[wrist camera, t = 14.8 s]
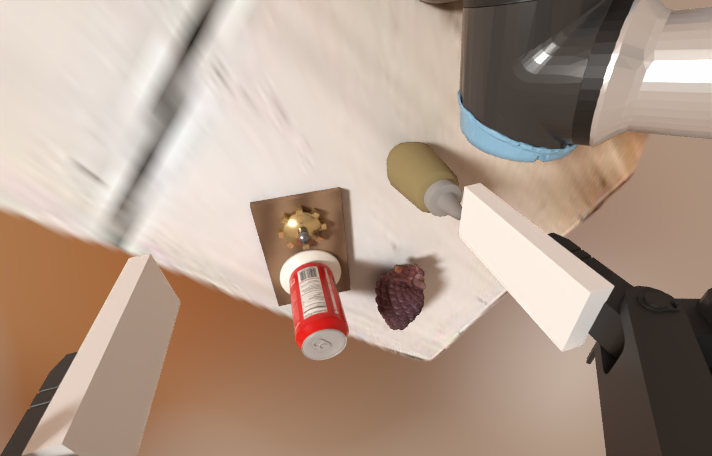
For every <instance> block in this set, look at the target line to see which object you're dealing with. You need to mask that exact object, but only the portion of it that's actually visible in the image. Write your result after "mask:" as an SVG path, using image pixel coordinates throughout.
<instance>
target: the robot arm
mask: <svg viewBox="0 0 712 456" xmlns="http://www.w3.org/2000/svg"><path fill="white" fill-rule="evenodd" d="M420 1H423V2H426V3H432V4H440V3H450V2H454V1H457V0H420ZM458 102H459V105H460V127H461V130H462V133H463V134H464V135H465V136H466V138H467V140H468V141H469V142H470V143H471V144H472V145H473V146H475V147H476V148H478V149H479V150H481V151H483V152H485V153H487V154H490V155H493V156H495V157H499V158H502V159H507V160H511V161H518V162H534V161H535V160H536V159H537V160H540V161H543V162H547V161H553V160H557V159H560V158H562V157H565V156H567V155H568V154H570V153H571V152H572V151H573V149H574V148H576V147H577V146H578V145H586V146H598V145H599V144H601V143H603V142H605V141H607V140H608V139H610V138H612V137H614V136H615V135H617V134H620V133H623V132H627V131H629V132H640V133H651V134H662V135H673V136H684V137H695V138H706V139H712V7H706V8H695V9H684V10H672V9H668V8H666V7H665V6H664V5H663V4H662V3H661V1H660V0H464V1H463V19H462V43H461V68H460V89H459V91H458ZM459 237H460V238H461V239H462V240H463V241H464V242H465V243H466V245H467V246H468V247H469V248H470V249H471V250H472V251H473V252H474V254H475V255H476V256H477V257H478V258H479V259H480V260H481V261H482V263H483V264H484V265H485V266H486V267H487V268H488V269H489V270H490V272H491V273H492V274H493V275H494V276H495V277H496V278H497V279H498V280H499V282H500V283H501V284H502V285H503V286H504V287H505V288H506V289H507V291H508V292H509V293H510V294H511V295H512V296H513V297H514V298H515V300H516V301H517V302H518V303H519V304H520V305H521V306H522V307H523V309H524V310H525V311H526V312H527V313H528V314H529V315H530V316H531V318H532V319H533V320H534V321H535V322H536V323H537V324H538V325H539V327H540V328H541V329H542V330H543V331H544V332H545V333H546V334H547V336H548V337H549V338H550V339H551V340H552V341H553V342H554V343H555V345H557V347H558V348H559V349H560V350H561V351H566V350H569V349H572V348H575V347H579V346H582V345H583V343H584V341H585V339H586V338H587V336H588V334H590V335H591V336H592V337H593V338H594V339H595V340H596V341H597V342H596V344H595V345H594V347H593V349H592V350H591V352H590V354H589V356H588V357H587V362H586V363H588V364H591V362H592V360H593V359H594V357H595V361H596V369H597V377H598V385H599V386H598V387H599V395H600V404H601V413H602V422H603V430H604V439H605V448H606V456H712V288H711V289H709V290H707V292H706V293H705V294H704V296H703V297H702V298H701V299H674V298H673V297H672V296H670V295H668V294H666V293H664V292H662V291H660V290H657V289H653V288H651V287H643V286H636V287H633V286H632V285H630V284H629V283H628V282H626V281H625V280H623V279H622V278H621V277H619V276H618V275H617V274H615V273H614V272H613V271H611V270H610V269H608V268H607V267H606V266H604V265H603V264H601V263H600V262H599V261H597V260H596V259H595V258H591V255H589V254H588V253H587V252H585V251H584V250H581V248H580V247H578V246H577V245H576V244H574V243H573V242H571V241H570V240H569V239H566V238H564V237H562V236H560V235H557V234H555V233H550V234H546V233H545V232H543V231H542V230H541V229H540V228H538V227H537V226H536V225H534V224H533V223H532V222H530V221H529V220H528V219H527V218H525V217H524V216H523V215H521V214H520V213H519V212H517V211H516V210H515V209H514V208H512V207H511V206H510V205H508V204H507V203H506V202H504V201H503V200H502V199H501V198H499V197H498V196H497V195H495V194H494V193H493V192H492V191H490V190H489V189H488V188H486V187H485V186H484V185H482V184H481V183H477V184H473V185H468V186H465V187H464V195H463V204H462V212H461V220H460V229H459ZM180 303H181V302H180V300H179V299H178V297H177V295H176V294H175V292H174V291H173V289H172V287H171V286H170V284H169V283H168V281H167V279H166V278H165V276H164V274H163V273H162V271H161V270H160V268H159V266H158V265H157V263H156V262H155V260H154V258H153V257H152V255H151V254H146V255H142V256H137V257H132V258H129V259H128V261H127V263H126V265H125V267H124V269H123V270H122V272H121V274H120V276H119V278H118V280H117V281H116V283H115V285H114V287H113V289H112V290H111V292H110V294H109V296H108V298H107V300H106V302H105V303H104V305H103V307H102V309H101V311H100V312H99V314H98V316H97V318H96V320H95V322H94V323H93V325H92V327H91V329H90V331H89V333H88V335H87V336H86V338H85V340H84V342H83V344H82V345H81V347H80V349H79V351H78V352H75V353H71V354H68V355H66V356H65V357H64V358H63V359H62V360H61V361H60V362H59V363H58V365H56V366H55V367H54V368H53V369H52V371H51V372H50V373H49V375H48V376H47V378H46V380H45V381H44V383H43V385H42V386H41V388H40V390H39V391H40V393H39V394H37V395H36V397H35V398H34V400H33V402H32V403H31V405H30V406H31V408H30V409H28V410H27V412H26V413H25V415H24V417H23V418H22V420H21V422H20V423H19V425H18V427H17V429H16V430H15V432H14V434H13V435H12V437H11V439H10V440H9V442H8V444H7V445H6V447H5V449H4V450H3V452H2V454H1V455H0V456H137V454H138V450H139V447H140V444H141V440H142V437H143V433H144V429H145V426H146V423H147V419H148V415H149V412H150V408H151V405H152V401H153V398H154V394H155V391H156V387H157V383H158V380H159V376H160V373H161V370H162V366H163V363H164V359H165V356H166V352H167V349H168V345H169V341H170V338H171V334H172V331H173V327H174V324H175V320H176V317H177V313H178V310H179V306H180Z"/></svg>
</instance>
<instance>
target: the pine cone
mask: <svg viewBox="0 0 712 456" xmlns="http://www.w3.org/2000/svg"><path fill="white" fill-rule="evenodd" d="M421 276H423V277H424V271H423V270H422V269H421V268H419V267H418V265H417V264H415V266H412V265H409V266H401V265H395V267H394V269H392V270H391V271H389V272H387V273H386V274H385V275H382V276H381V278H380V281H377V283H376V286H377V288H376V289H375V292H376V294H377V297H376V298H375V300H376V302H377V304H378V311H379V312H380V314H381V315H382V317H383V318H384V319H385V322H386V323H387V325H389V327H390V328H391V329H393V330H397V329H400V330H403V329H405V328H406V327H407V326H408V324H409V323H410V322H413V320H415V318H416V316H417V315H419V314H420V312H421V309H422V307H423V305H424V294H423V289H424V288H425V283H424V279H423V278H421Z"/></svg>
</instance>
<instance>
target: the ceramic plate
mask: <svg viewBox="0 0 712 456" xmlns="http://www.w3.org/2000/svg"><path fill="white" fill-rule="evenodd" d="M309 262H319V263H322V264H325V265H327V266H328V267H329V268H330V269H331V271H332V273H333V276H334V279H335V283H336V284H337V283H338V281H339V279H340V276H341V267H340V264H339V261H338V260H337V258H336V257H335V256H334V255H333V254H331V253H330V252H327V251H325V250H321V249H307V250H303V251H300V252H298V253H296V254H294V255H292V256H291V257H289V258H288V259H287V260H286V261H285V263H284V264H283V266H282V267H281V270H280V282H281V285H282V287H283V289H284V290H285V291H286V292H287V293H289V294H290V287H289V279H290V276H291V274H292V272H293V271H294V270H295V269H296V268H297V267H299V266H300V265H303V264H305V263H309Z"/></svg>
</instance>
